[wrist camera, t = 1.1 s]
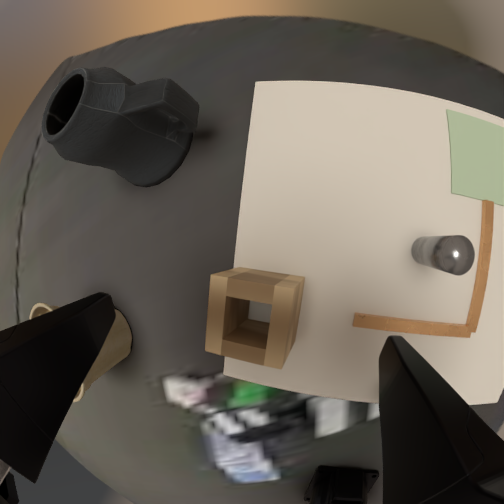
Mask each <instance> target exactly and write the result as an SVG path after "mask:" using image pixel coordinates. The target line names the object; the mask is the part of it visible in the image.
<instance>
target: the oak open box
mask: <svg viewBox="0 0 504 504" xmlns="http://www.w3.org/2000/svg"><path fill="white" fill-rule="evenodd" d="M304 282H305V277H303V276H296V275H289V274H283V273H276V272H269V271H263V270H256V269H250V268H243V267H238V268H234V269H230V270H226V271H222V272H219V273H215V274H211V278H210V289H209V301H208V314H207V328H206V343H205V351H208V352H211V353H215V354H218V355H222V356H226V357H230V358H233V359H237V360H241V361H245V362H250V363H254V364H258V365H262V366H267V367H271V368H276V369H282V367H283V365H284V363H285V361H286V359H287V357H288V355H289V353H290V351H291V349H292V347H293V345H294V343H295V339H296V334H297V328H298V322H299V315H300V309H301V302H302V296H303V289H304ZM250 301H255V302H260V303H266V304H272V310H271V318H270V323H268V322H263V321H258V320H253V319H248V313H249V305H250Z"/></svg>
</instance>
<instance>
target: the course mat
mask: <svg viewBox="0 0 504 504" xmlns="http://www.w3.org/2000/svg"><path fill="white" fill-rule="evenodd" d="M482 200H489V201H493V202H494V220H493V237H492V248H491V257H490V265H489V272H488V279H487V285H486V290H485V295H484V300H483V305H482V309H481V314H480V318H479V322H478V326H477V330H476V333H473V332H471V336H470V338H462V337H447V336H434V335H423V334H412V333H402V332H393V331H384V330H376V329H368V328H360V327H353V325H352V324H353V319H354V314H355V312H356V313H364V314H371V315H379V316H387V317H396V318H404V319H413V320H423V321H433V322H444V323H455V324H466V321H467V317H468V313H469V309H470V304H471V299H472V294H473V289H474V284H475V278H476V271H477V264H478V256H479V247H480V237H481V221H482ZM448 235H462V236H465V237H467V238H468V239H469V240H470V241H471V243H472V245H473V247H474V251H475V258H474V263H473V265H472V267H471V269H470V270H469V271H468V272H467V273H465V274H463V275H459V276H457V275H453V274H450V273H447V272H444V271H441V270H437V269H434V268H431V267H428V266H425V265H421V264H419V263H417V262H416V261H415V260H414V259H413V257H412V253H411V248H412V245H413V243H414V241H415V240H416V239H417V238H419V237H424V236H448ZM238 267H243V268H250V269H256V270H263V271H269V272H276V273H283V274H289V275H296V276H303V277H305V282H304V289H303V296H302V302H301V309H300V315H299V322H298V328H297V334H296V339H295V343H294V345H293V347H292V349H291V351H290V353H289V355H288V357H287V359H286V361H285V363H284V365H283V367H282V369H276V368H271V367H267V366H262V365H258V364H254V363H250V362H245V361H241V360H237V359H233V358H230V357H226V356H225V361H224V373H223V375H226V376H230V377H234V378H237V379H241V380H245V381H249V382H253V383H257V384H261V385H265V386H270V387H274V388H279V389H284V390H288V391H293V392H299V393H304V394H310V395H316V396H322V397H328V398H335V399H342V400H350V401H359V402H368V403H379V355H380V353H381V351H382V348H383V346H384V344H385V341H386V339H387V337H388V336H390V335H399V336H402V337H403V338H404V339H405V340H406V341H407V342H408V343H409V344H410V345H411V346H412V347H413V348H414V349H415V350H416V351H417V352H418V353H419V354H420V355H421V356H422V357H423V358H424V359H425V360H426V361H427V362H428V363H429V364H430V365H431V366H432V367H433V368H434V369H435V370H436V371H437V372H438V373H439V374H440V375H441V376H442V377H443V378H444V379H445V380H446V381H447V382H448V383H449V384H450V385H451V387H452V388H453V389H454V390H455V391H456V392H457V393H458V394H459V395H460V396H461V397H462V398H463V399H464V400H465V401H466V403H467V404H468V405H474V404H487V403H497V401H498V399H499V397H500V395H501V393H502V390H503V388H504V119H502V118H499V117H497V116H494V115H492V114H489V113H486V112H483V111H480V110H477V109H474V108H471V107H468V106H465V105H462V104H458V103H455V102H451V101H448V100H444V99H440V98H436V97H432V96H427V95H423V94H418V93H414V92H408V91H403V90H397V89H391V88H385V87H378V86H370V85H362V84H352V83H340V82H323V81H263V82H256V84H255V91H254V99H253V106H252V114H251V121H250V129H249V137H248V145H247V153H246V161H245V170H244V178H243V186H242V195H241V204H240V213H239V221H238V230H237V240H236V249H235V258H234V268H238ZM234 268H233V269H234ZM271 310H272V304H266V303H260V302H255V301H250V305H249V313H248V319H253V320H258V321H263V322H268V323H270V318H271Z"/></svg>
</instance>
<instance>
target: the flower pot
mask: <svg viewBox="0 0 504 504" xmlns="http://www.w3.org/2000/svg"><path fill="white" fill-rule="evenodd" d="M57 308H60V307H58V306H49V305H48V304H45V303H37V304H36V305H34V307H33V308H32V310H31V313H30V318H29V320H30V319H32V318H35V317H37V316H40V315H42V314H45V313H47V312H50V311H52V310H55V309H57ZM115 312H116V318H115V321H114V323H113V325H112V327H111V329H110V332H109V334H108V336H107V338H106V340H105V342H104V344H103V347H102V349H101V351H100V353H99V355H98V357H97V358H96V360H95V362H94V364H93V365H92V367H91V369H90V371H89V373H88V374H87V376H86V378H85V380H84V382H83V383H82V385H81V387H80V389H79V391H78V393H77V395H76V397H75V398H74V400H73V402H77V401H79V400H81V399H82V398H83V396H84V393H85V391H86V390H88V389H89V388H90V386H91V384H92V383H93V382H94V381H95V380H97V379H98V378H99V377H100V376H102V375H103V374H104V373H106V372H107V371H108V370H109V369H111V368H112V367H113V366H115V365H116V364H117V363H119V362H120V361H121V360H123V359H124V358H126V357H127V356H128V355H129V353H130V351H131V349H130V347H131V341H132V335H131V331H130V328H129V325H128V323H127V321H126V319H125V318H124V316H123V315H122V314H121V312H120V311H118V310H116V309H115Z"/></svg>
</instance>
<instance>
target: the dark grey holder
mask: <svg viewBox="0 0 504 504" xmlns="http://www.w3.org/2000/svg"><path fill="white" fill-rule="evenodd" d="M198 113H199V104H198V103H197V102H196V101H195V100H194V99H193V98H192V97H191V96H190V95H189V94H188V93H187V92H186V91H185V90H184V89H182V88H181V87H180V86H179V85H178V84H176V83H175V82H174V81H172V80H171V79H167V78H162V79H157V80H151V81H146V82H143V83H140V84H135V83H134V82H133V81H131V80H130V79H128V78H127V77H125V76H124V75H122V74H120V73H119V72H117V71H115V70H114V69H112V68H106V67H102V68H96V69H86V68H77V69H75V70H73V71H71V72H70V73H69V74H67V75H66V76H65V77H64V78H63V79H62V80H61V82H60V83H59V84H58V85H57V87H56V88H55V90H54V91H53V93H52V95H51V97H50V99H49V101H48V103H47V106H46V108H45V111H44V114H43V119H42V135H43V138H44V139H45V140H46V141H48V142H49V143H50V144H52V145H53V146H54V147H55V149H56V150H57V152H58V154H59V155H60V156H61V157H63V158H64V159H65V160H69V161H74V162H78V163H82V164H86V165H92V166H101V167H104V168H108V169H112V170H115V171H116V172H117V174H119V175H120V176H122V177H123V178H125V179H126V180H128V181H129V182H131V183H133V184H134V185H136V186H141V187H150V186H154V185H158V184H160V183H161V182H163V181H165V180H166V179H168V178H169V177H171V176H172V174H173V173H174V172H175V171H176V170H177V169H178V168H179V167H180V166H181V164H182V162H183V161H184V159H185V157H186V155H187V153H188V152H189V149H190V145H191V141H192V137H193V132H195V131H196V127H197V117H198Z"/></svg>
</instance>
